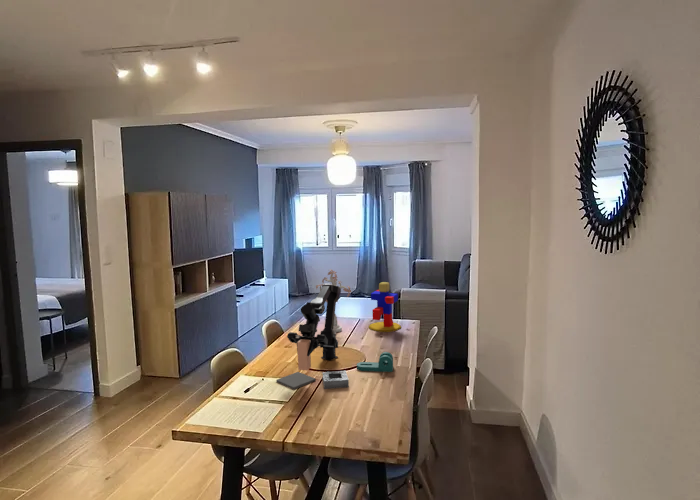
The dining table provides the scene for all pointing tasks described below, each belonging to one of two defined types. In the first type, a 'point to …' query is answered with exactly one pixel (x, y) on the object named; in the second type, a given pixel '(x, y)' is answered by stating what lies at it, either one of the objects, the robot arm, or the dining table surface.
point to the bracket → (378, 364)
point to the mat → (296, 380)
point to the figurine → (384, 309)
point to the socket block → (335, 379)
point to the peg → (303, 354)
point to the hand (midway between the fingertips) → (302, 355)
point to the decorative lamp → (332, 279)
